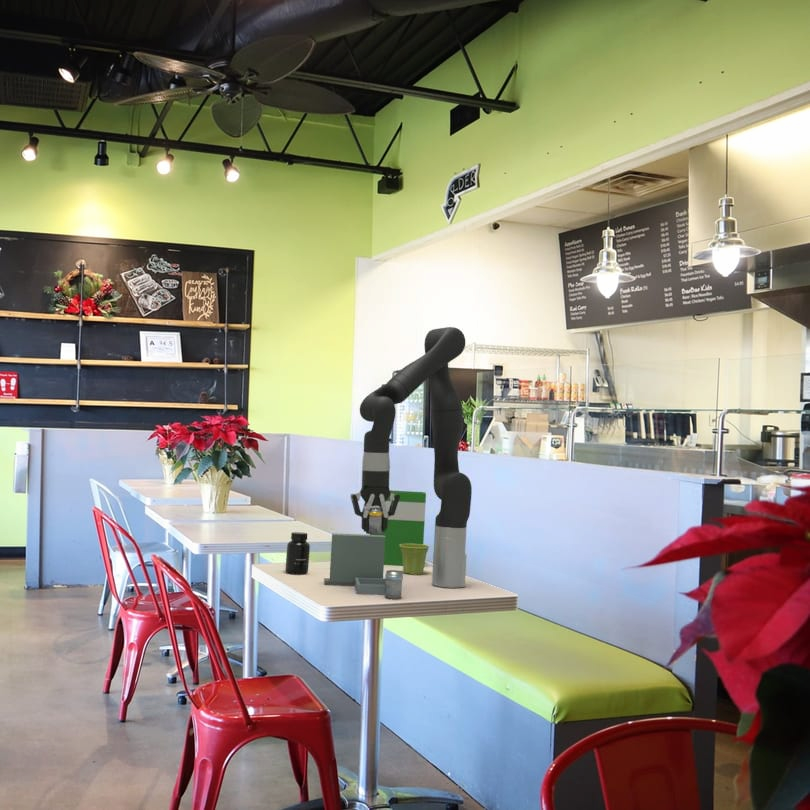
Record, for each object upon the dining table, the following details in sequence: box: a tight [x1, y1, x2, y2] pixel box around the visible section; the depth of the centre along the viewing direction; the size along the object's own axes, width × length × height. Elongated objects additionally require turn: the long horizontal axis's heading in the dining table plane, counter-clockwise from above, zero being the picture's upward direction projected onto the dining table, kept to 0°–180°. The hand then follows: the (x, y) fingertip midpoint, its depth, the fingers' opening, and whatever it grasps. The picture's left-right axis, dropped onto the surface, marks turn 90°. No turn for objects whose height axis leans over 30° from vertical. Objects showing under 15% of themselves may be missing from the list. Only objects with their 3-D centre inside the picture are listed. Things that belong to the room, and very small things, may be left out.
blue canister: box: [384, 569, 404, 601], centre depth 244 cm, size 5×5×7 cm
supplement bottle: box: [285, 531, 311, 575], centre depth 276 cm, size 7×7×12 cm
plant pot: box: [399, 544, 430, 575], centre depth 287 cm, size 9×9×9 cm
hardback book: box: [369, 489, 427, 567], centre depth 305 cm, size 18×7×24 cm, turn 91°
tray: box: [354, 578, 386, 596], centre depth 253 cm, size 11×11×2 cm
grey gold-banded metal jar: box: [365, 506, 383, 535], centre depth 252 cm, size 5×5×7 cm
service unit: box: [323, 532, 385, 587], centre depth 261 cm, size 18×5×14 cm, turn 96°
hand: (374, 531), depth 252 cm, fingers closed on grey gold-banded metal jar, 4 cm apart
